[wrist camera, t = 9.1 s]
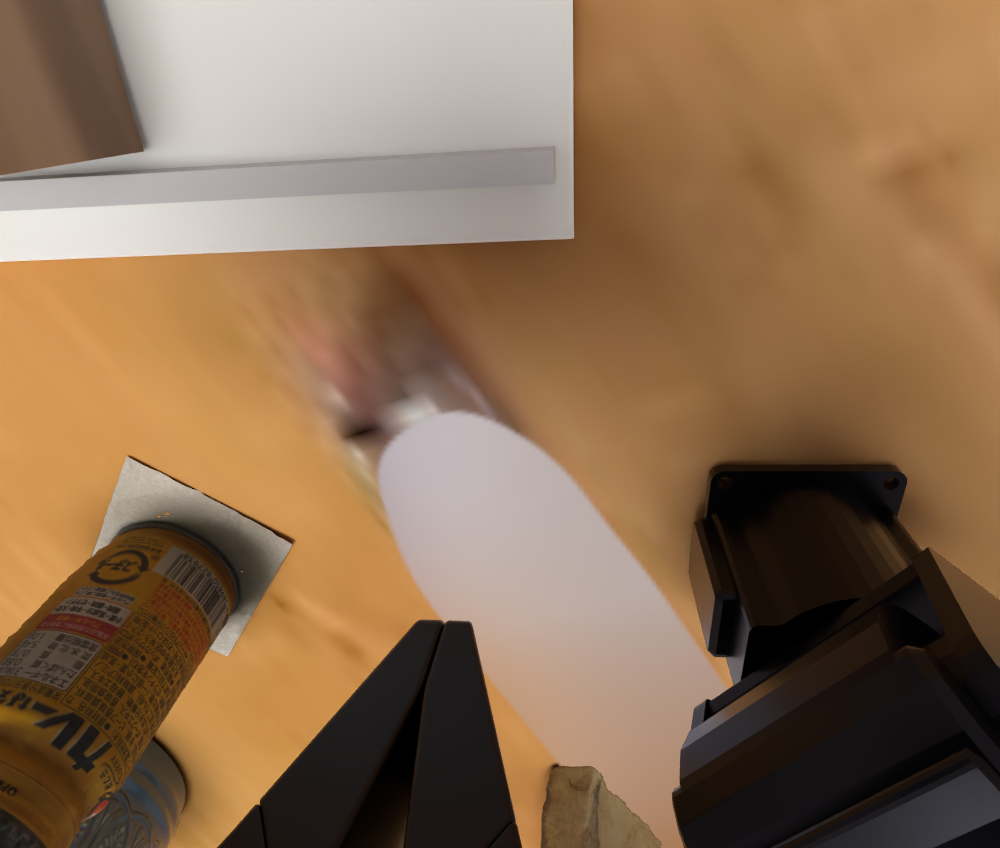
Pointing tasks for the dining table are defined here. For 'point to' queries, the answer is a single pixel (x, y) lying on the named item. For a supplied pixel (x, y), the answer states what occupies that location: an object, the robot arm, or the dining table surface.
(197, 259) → the dining table surface
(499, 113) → the gauge base
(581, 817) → the rock
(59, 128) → the brown cardboard cube
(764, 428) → the dining table surface
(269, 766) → the dining table surface
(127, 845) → the canister
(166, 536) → the condiment
